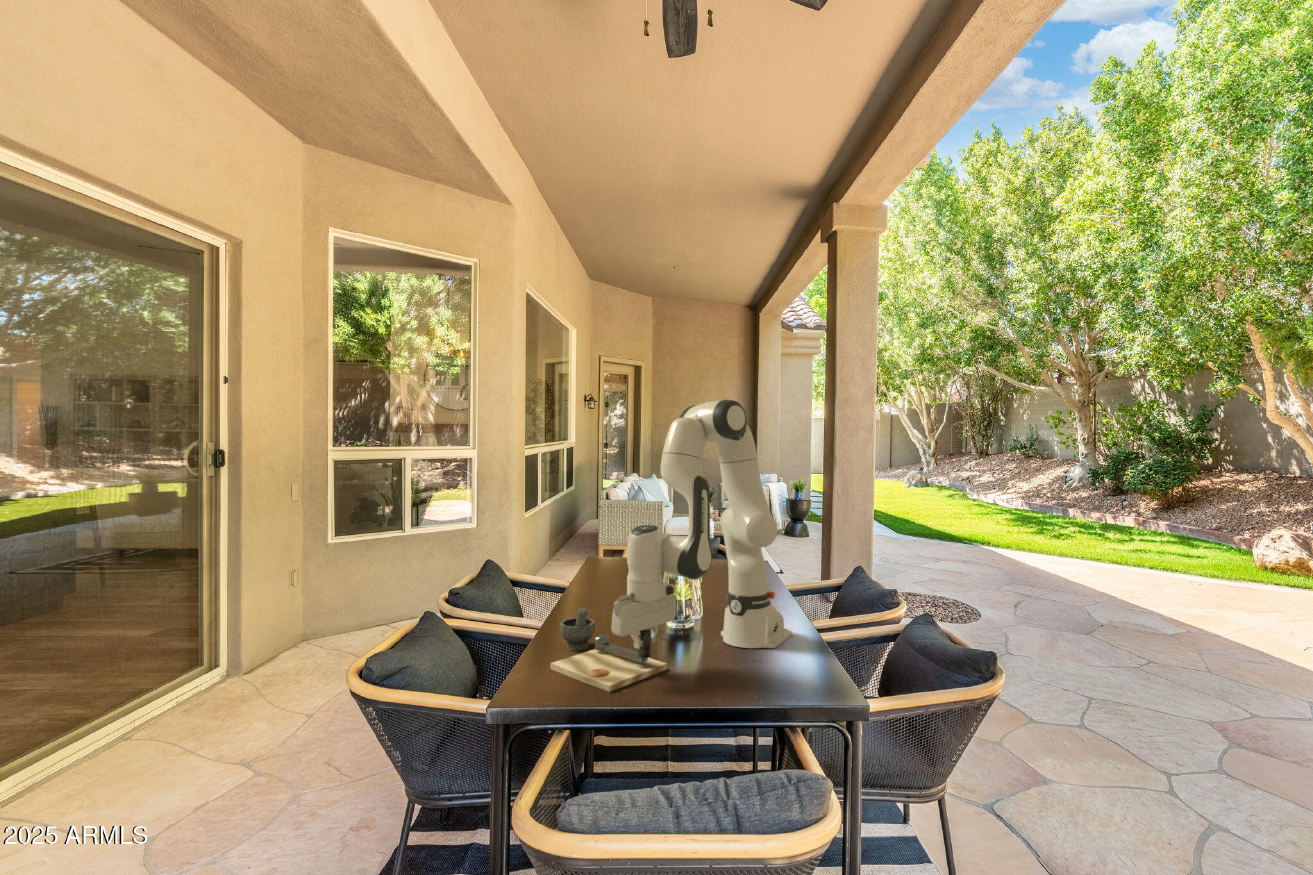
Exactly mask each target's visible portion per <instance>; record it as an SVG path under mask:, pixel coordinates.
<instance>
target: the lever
mask: <svg viewBox="0 0 1313 875" xmlns="http://www.w3.org/2000/svg"><path fill="white" fill-rule="evenodd" d="M638 636H639V638H640V640H642V641H643V644H642V645H643V647H641V648H639V649H637V650H638V651H637V650H633V649H629V648H627V647H624V646H620V645H618V644H614V643H610V635H608V634H603V633H602V634H596V635H594V649H596V650H604V651H608V652H611V653H614V654H617V655H620V656H623V657H626V658H629V659H632V660H635V661H638V662H641V663H643V662H646V661H648V658H651V657H652V644H651V629H650V628H648V629H644V630H641V631H640V635H638Z"/></svg>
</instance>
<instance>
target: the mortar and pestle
mask: <svg viewBox="0 0 1313 875" xmlns="http://www.w3.org/2000/svg"><path fill="white" fill-rule="evenodd" d="M588 613H589V611H588V609H587V608H585V607H581V608H579V609H578V610H577V617H572V618H567V619H563V620H562V621H561V622H559V628H560V629H559V631H560V635H561V636H562V638H563V639H564V640H565V642H566V649H568V650H571V651H582V650H587V647H588V648H589V647H590V646H589V645H590V644H589V640H590V639H591V638H592V637H593V636H594V633H595V629H596V621H595V620H593V619H592V618H587V616H588Z"/></svg>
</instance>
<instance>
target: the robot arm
mask: <svg viewBox="0 0 1313 875" xmlns="http://www.w3.org/2000/svg"><path fill="white" fill-rule="evenodd" d="M747 424H748V419H747V414H746V411H745V409H744V407H743V406H742V405H741V404H740V402H738V401H737V400H732V399H722V400H711V401H707V402H703V403H700V404H696V405H691V406H688V407H687V408H685V409H684V410H683V411H682V412H681V413H680V415H679V417H678V418H677V419H674V420H673V421H672V422H671V423H670V426H669V428H668V432H667V434H666V438H665V441H664V444H663V449H662V454H661V462H660V467H659V468H660V475H661V477H662V479H663V481H664V483H665V484H666V485H667V486H668V487H669V488H670V489H672V490H674V491H675V492H677V493H679V494H680V495H681V496H683V497H684V498H685V500H686V502H687V504H688V534H687V537H682V536H681V537H679V536H676V535H669V534H667V533H665V532H664V531H661V529H660V527H658V526H657V525H654V524H645V525H638V526H636V527H634V528H633V529H631V530H630V533H629V535H628V539H627V548H626V550H627V551H626V563H627V566H628V573H627V576H626V592H627V593H626V595H621V596H619V597H618V598H617V599H616V601H615V602H614V603H613V610H612V615H611V617H612V618H611V626H610V628H611V632H612V633H613V634H614V635H616V636H618V637H626V636H628V635H630V637H631V639H632V640H633V647H634V649H637V650H638V649H639V648H641V647H643V645H642V644H643V641H642V640H640V638H639V636H638V635H640V631H641V630H644V629H651V645H653V644H655V643H656V637H657V634H658V631H659V628H660V625H663V624H667V623H669V622H673V621H674V620H675V618H676V616H677V602H676V601H677V600H676V596H675V594H676V589H677V588H676V586H675V585H673V584H669V583H665V582H663V576H662V573H666V574H671V575H675V576H681V577H683V578H687V579H691V580H692V581H693V580H695V581H696V580H699V579H701V578H702V577H703V576H705V575H706V574H707V573H708V571H709V570H710V569H711V567H712V563H713V553H712V552H713V551H712V547H711V546H712V545H711V494H710V486H709V485H710V484H709V482H708V481H707V480H706V478H704V473H703V460H704V453H705V452H704V451H705V444H706V443H707V442H715V443H716V446H717V448H718V462H719V469H720V475H721V482H722V490H723V492H724V494H725V495H726V499H727V500H728V502H729V507H728V508H726V509H724V511H723V512H722V513H721V515H720V518H719V519H720V520H719V524H720V528H721V531H722V535H723V540H724V547H725V551H726V552H725V553H726V558H727V566H728V567H727V568H728V574H727V575H728V591H727V592H726V604H727V607H726V608H725V609H724V617H723V618H724V619H723V630H721V631H720V635H721V637H722V642H724V643H725V644H727V645H730V646H732V647H736V648H737V647H738V648H744V649H745V648H746V649H761V648H762V649H763V648H764V649H775V648H777V647H779V646H780V645H781V644H783V643H784V642H785V641H786V640H788V639H789V638H791V636H793V632H792V631H791V630H789V629H787V628H785V622H784V616H783V614H782V613H781V612H780V611H778V610H777V609H776V608H775V607H774V606H773V605H772V604H771V600H773V599H775V596H776V593H775V591H769V590H767V589H768V572H767V569H768V568H767V567H768V566H767V563H766V561H765V559H764V555H763V551H762V548H767V547H769V546H771V545H772V544H773V543H774V541H775V540H776V538H777V535H778V532H779V529H778V524H777V522H776V520H775V519H774V517H773V515H772V513H771V509H770V507H769V504H768V501H767V498H766V496H765V492H764V488H763V485H762V481H761V480H762V479H761V473H760V472H761V471H760V466H759V460H758V452H757V448H756V443H755V440H754V436H753V433H752V431H751V428H750V426H749V425H747Z"/></svg>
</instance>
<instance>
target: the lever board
mask: <svg viewBox="0 0 1313 875" xmlns="http://www.w3.org/2000/svg"><path fill="white" fill-rule="evenodd" d="M549 664H550V670H552V671H554V672H557V673H560V674H561V675H563V676H564V675H565V676H566V677H570V678H572V679H575V680H577V681H580V682H582V683H585V684H587V685H590V686H593V687H594V688H598V689H600V690H603V691H605V692H608V693H610V692H613V691H616V690H618V689H621V688H623V687H626V686H628V685H631V684H634V683H635V682H638V681H639V682H640V681H641V680H643V679H646V678H649V677H651V676H654V675H656V674H659V673H661V672H664V671H666V670H667V669H668V663H667V662H663V661H661V660H657V659H655V658H654V659H653V658H651V657H649V658H648V661H646V662H643V663H641V662H638V661H635V660H632V659H629V658H626V657H623V656H620V655H617V654H614V653H611V652H608V651H604V650H596V649H595V648H594V649H590V650H587V651H584V652H581V653H578V654H576V655H572V656H569V657H566V658H562V659H560V660H559V659H558V660H556V661H553V662H550V663H549Z"/></svg>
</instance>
